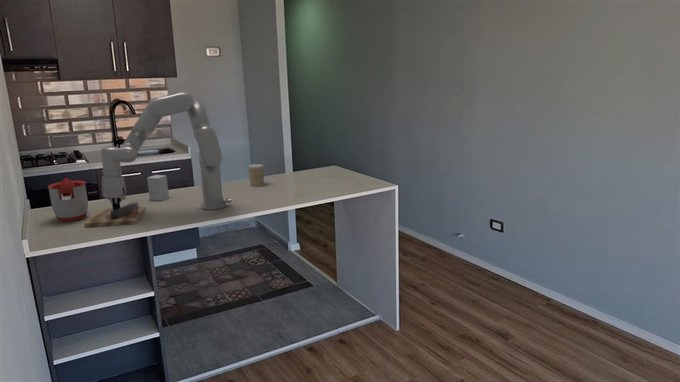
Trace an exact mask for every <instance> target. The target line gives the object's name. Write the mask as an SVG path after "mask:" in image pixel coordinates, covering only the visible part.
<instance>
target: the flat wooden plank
mask: <svg viewBox="0 0 680 382" xmlns="http://www.w3.org/2000/svg"><path fill="white" fill-rule="evenodd" d="M111 211H113V208H102V209H101V208H99V209H98V210H96V211H95V212H94V213H93V214H92V215H91V216H89V218H88V219H87V220H86V221H85V222H84V223H83V224H84V228H86V229H87V228H97V227H98V228H99V227H100V228H101V227H113V226H114V227H115V226H116V227H117V226H128V225H137V224H138V222H140V220H141V218H142V217H143V216H144V214H145V212H147V207H146V206H139V209H137V207H134V209H133V210H132V212H130V213H127V214H125V215H123V216H121V217H118V218H115V219H112V218H111V213H110V212H111Z"/></svg>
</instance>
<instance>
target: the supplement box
mask: <svg viewBox="0 0 680 382" xmlns="http://www.w3.org/2000/svg"><path fill="white" fill-rule="evenodd" d="M146 180H147V187H148V196H149V201H157V202H161V201H164V200H167V199H169V198H170V195H169V187H168V186H169V184H168V178H167V175H164V174H163V175H162V174H161V175H160V174H154V175H151V176H148V177H147V178H146Z"/></svg>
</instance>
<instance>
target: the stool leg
mask: <svg viewBox="0 0 680 382" xmlns="http://www.w3.org/2000/svg"><path fill="white" fill-rule="evenodd" d="M134 207H137V209H139V207H140V206H139V202H138V201H133V202H131V203H128V204H126V205H124V206H120V208H118V209H116V210H113V211H111V212H110V213H111V218H112V219H115V218H118V217H121V216H123V215H125V214H127V213H130V212H132V210H133V209H134Z"/></svg>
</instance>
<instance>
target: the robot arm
mask: <svg viewBox="0 0 680 382" xmlns="http://www.w3.org/2000/svg"><path fill="white" fill-rule="evenodd" d="M184 112H186V113H187V115H188V119H189V121H190V124H191V128H192V131H193V136H194V139H195V141H196V143H197V146H198V150H199V151H198V163H199V169H200V176H201V177H200V178H201V191H202V200H203V203H201V204H200V209H202V210H205V211H207V210H208V211H210V210H212V211H214V210H219V209H223V208H225V207H226V206H227V203H229V204H230V203H232V201H233V200H232V198H230V197H228V198H225V197H224V196H223V189H222V176H221V175H222V174H221V166H220V164H221V163H222V160H223V155H222V151H221V146H220V143H219V139H218V136H217V132H216V131H215V129H213V127H212V125H211V123H210V119H209V117H208V116H209V115H208V114H207V111H206V108H205V106H204V104H203V101H201V100H200V99H199V98H198V97H197V96H196V95H195V94H192V93H190V92H187V91H183V90H182V91H177V92H176V93H174V94H171V95H167V96H163V97H158V96H157V97H153V98H151V99H150V100H149V102H147V105H146V106H145V108H144V110H143V111H142V112H141V114H140V116H139V117H138V119H137V121H136V122H135V124H133V127H132V129H131V131H130V132H129V134H128V135H127V137H126V138H125V140H124V141H123V143H122V145H121V146H120V147H117V146H114V145H113V146H111V145H110V146H104V147H102V148H101V149H100V154H101V162H102V163H101V164H102V171H101V172H102V174H103V175H102V177H101V193H102V197H104V198H105V199H106V200H109V202H110V204H112V205H111V207H112V209H113V210H116V209H118V208H121V203H122V201H124V200H126V199H127V197H126V196H127V189H126V183H125V179H124V177H123V174H122V167H121V166H122V165H121V163H127V164H128V163H134V162H135V161H136V159H137V157H138V152H139V150H140V149H141V147H142V146H143V144H144V143H145V141H146V140H147V139H148V138H149V137H150V136H152V134H153V133H154V132H155V130H156V128H157V127H158V126H159V124H160V122H161V120H162V119H163V117H167V116H172V115H176V114H179V113H184Z"/></svg>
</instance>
